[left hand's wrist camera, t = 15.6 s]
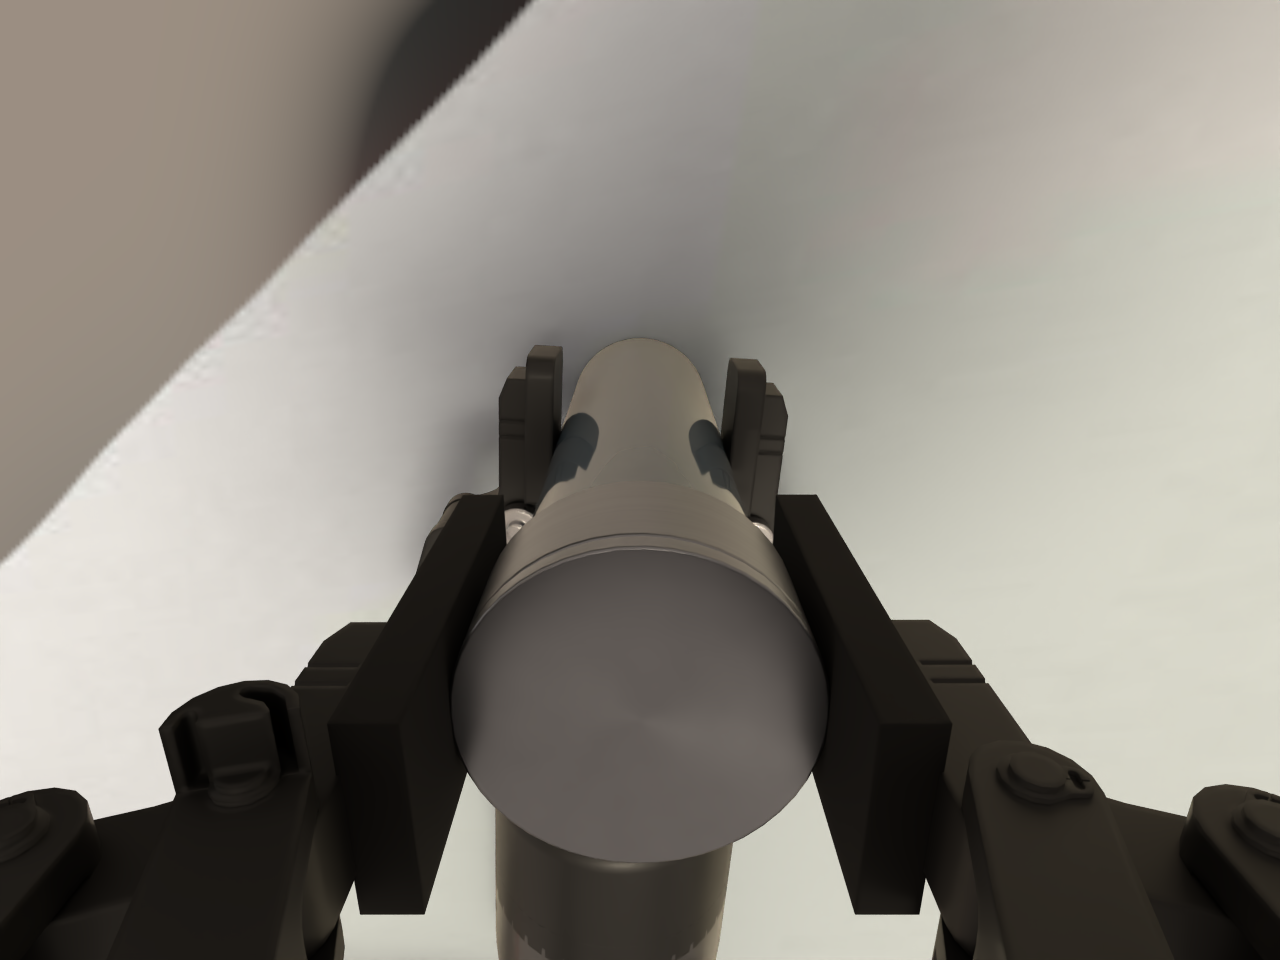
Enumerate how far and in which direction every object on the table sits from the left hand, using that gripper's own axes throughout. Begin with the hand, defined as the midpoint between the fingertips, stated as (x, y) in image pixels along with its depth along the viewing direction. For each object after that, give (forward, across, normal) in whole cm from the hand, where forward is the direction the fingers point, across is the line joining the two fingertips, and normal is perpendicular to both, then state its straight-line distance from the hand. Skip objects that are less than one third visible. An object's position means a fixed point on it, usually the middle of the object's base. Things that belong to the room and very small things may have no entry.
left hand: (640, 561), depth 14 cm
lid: (-4, 0, 0) cm, 4 cm away
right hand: (+6, 0, -3) cm, 6 cm away
